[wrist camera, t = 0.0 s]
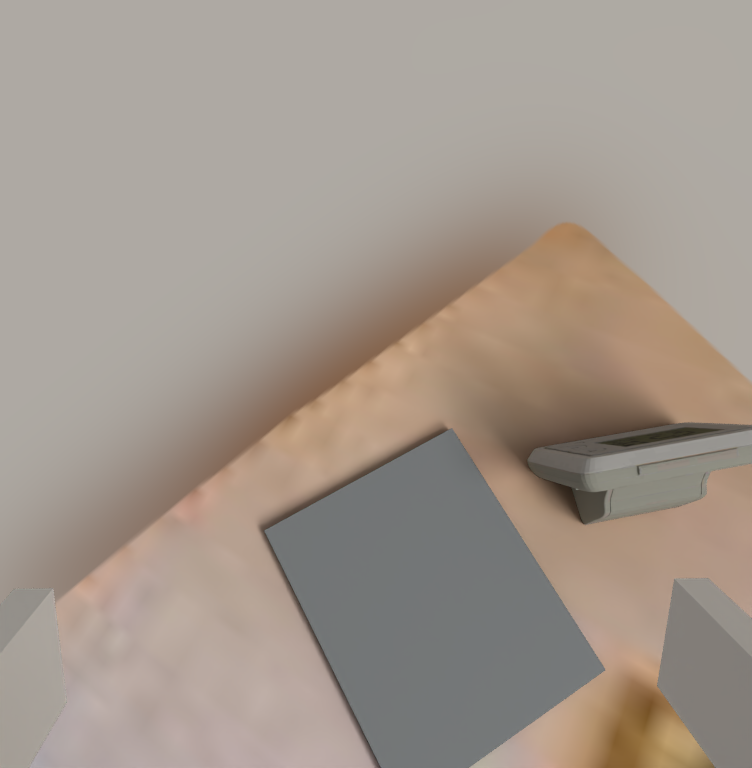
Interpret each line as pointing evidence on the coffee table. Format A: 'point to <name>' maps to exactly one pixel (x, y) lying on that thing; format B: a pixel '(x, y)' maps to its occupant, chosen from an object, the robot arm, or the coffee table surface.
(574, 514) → the coffee table surface
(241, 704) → the coffee table surface
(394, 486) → the mat
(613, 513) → the digital clock
